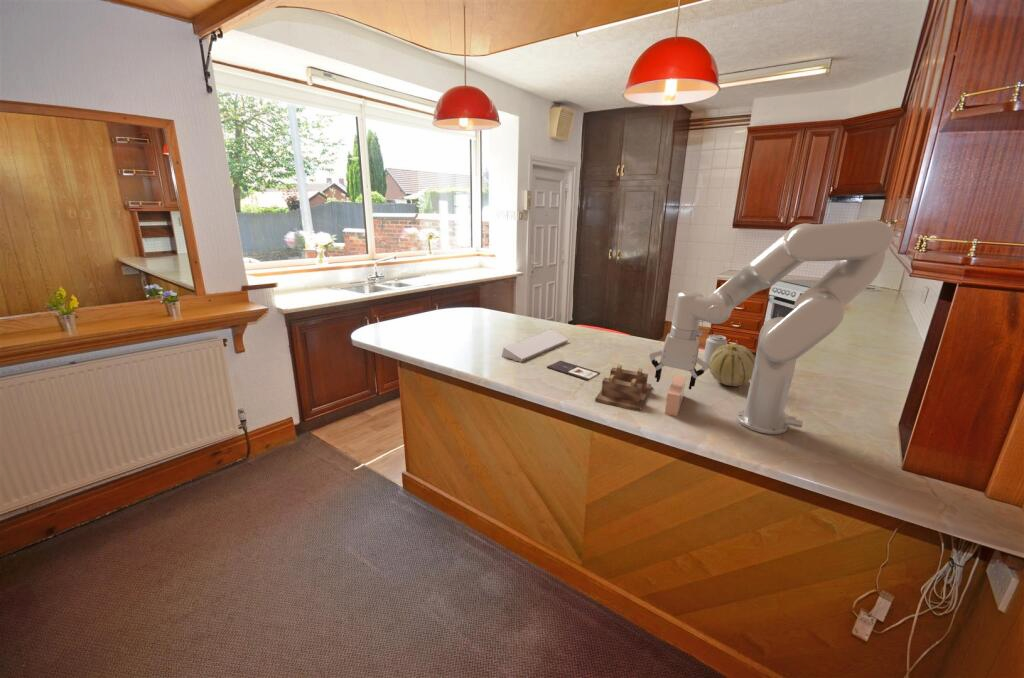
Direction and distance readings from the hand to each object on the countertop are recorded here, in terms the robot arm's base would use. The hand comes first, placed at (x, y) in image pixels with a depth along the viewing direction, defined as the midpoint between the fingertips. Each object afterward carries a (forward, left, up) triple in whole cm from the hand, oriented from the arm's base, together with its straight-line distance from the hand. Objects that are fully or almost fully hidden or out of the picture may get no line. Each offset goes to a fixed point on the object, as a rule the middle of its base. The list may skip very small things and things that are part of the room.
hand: (673, 384), depth 130 cm
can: (-10, -43, -7) cm, 45 cm away
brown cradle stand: (+15, 0, -7) cm, 16 cm away
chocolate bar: (+37, -11, -7) cm, 39 cm away
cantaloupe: (-16, -26, -7) cm, 31 cm away
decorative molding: (+59, -27, -8) cm, 66 cm away
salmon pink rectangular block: (-1, 0, -7) cm, 7 cm away
